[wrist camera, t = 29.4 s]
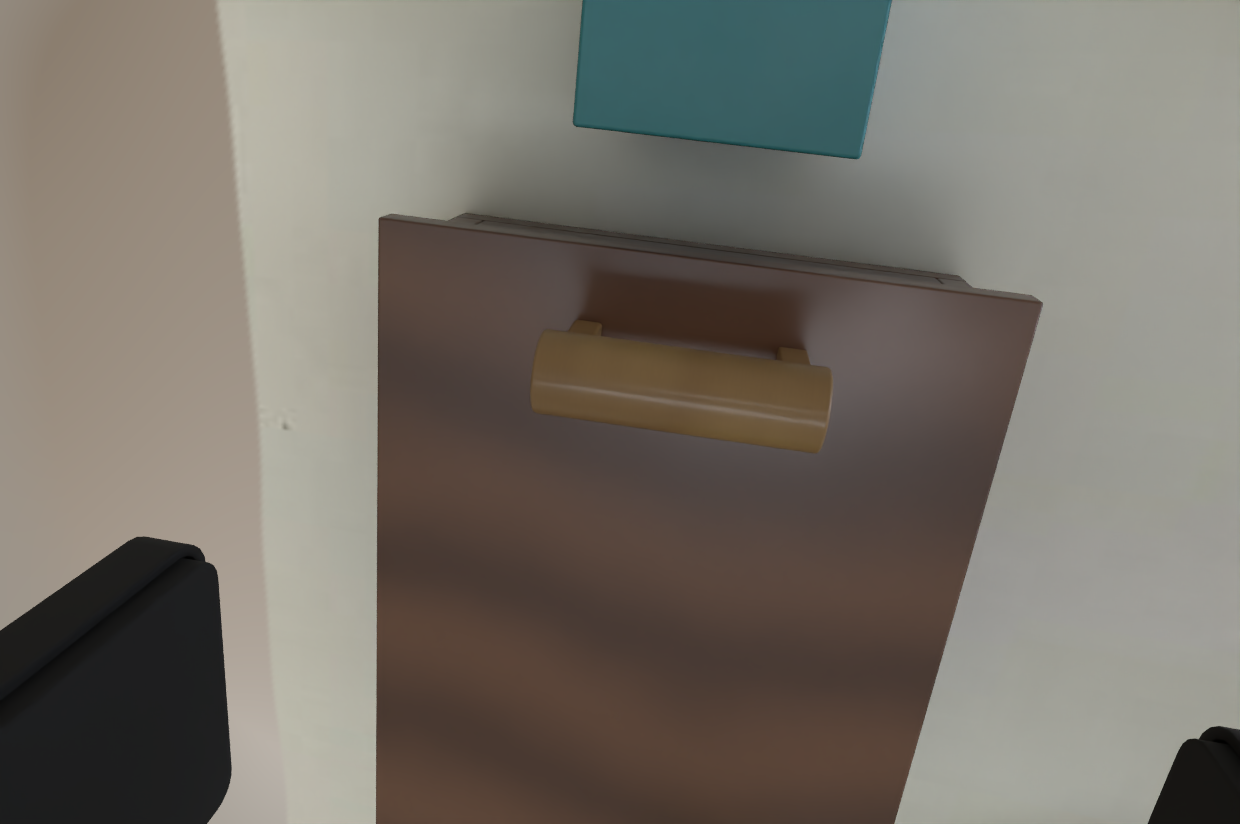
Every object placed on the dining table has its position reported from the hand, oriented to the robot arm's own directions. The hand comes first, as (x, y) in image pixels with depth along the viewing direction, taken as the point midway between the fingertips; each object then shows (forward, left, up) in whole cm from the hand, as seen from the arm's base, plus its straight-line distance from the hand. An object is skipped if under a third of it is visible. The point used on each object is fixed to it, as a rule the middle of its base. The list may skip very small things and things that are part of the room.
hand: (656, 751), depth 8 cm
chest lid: (+6, +5, -14) cm, 16 cm away
